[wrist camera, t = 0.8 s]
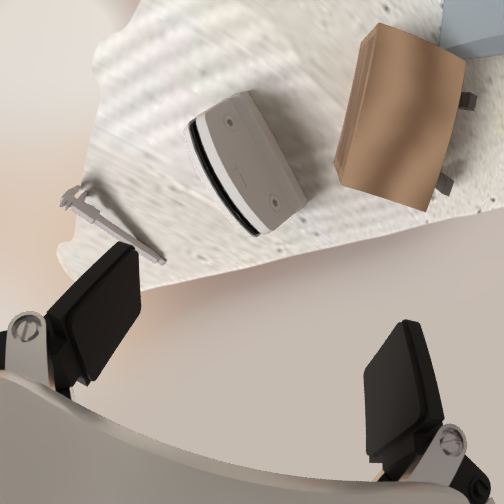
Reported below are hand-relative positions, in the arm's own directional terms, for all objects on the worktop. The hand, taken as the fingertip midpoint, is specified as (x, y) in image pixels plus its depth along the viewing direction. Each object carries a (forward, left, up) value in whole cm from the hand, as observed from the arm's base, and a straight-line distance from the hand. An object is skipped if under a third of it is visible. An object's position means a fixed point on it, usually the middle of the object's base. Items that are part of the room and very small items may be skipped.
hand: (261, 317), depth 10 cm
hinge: (+2, -6, -29) cm, 30 cm away
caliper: (+16, -26, -29) cm, 42 cm away
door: (-26, +16, -29) cm, 42 cm away
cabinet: (-8, +12, -29) cm, 32 cm away
